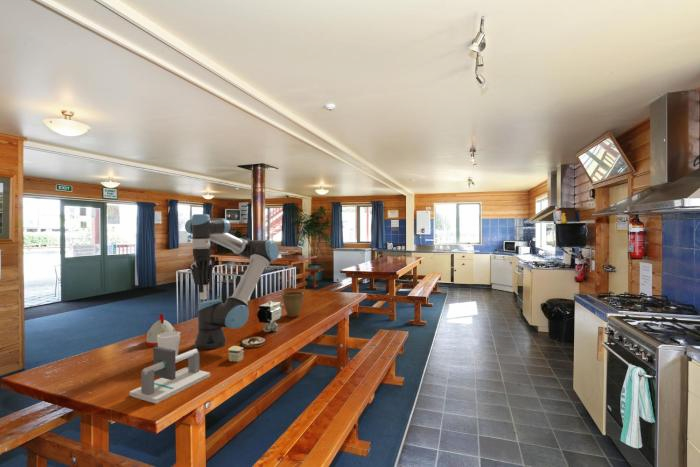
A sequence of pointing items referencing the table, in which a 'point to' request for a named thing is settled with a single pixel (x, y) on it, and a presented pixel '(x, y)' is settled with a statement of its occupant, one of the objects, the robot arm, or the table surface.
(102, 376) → the table surface
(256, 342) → the white shallow bowl
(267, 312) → the ball valve
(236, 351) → the beige layered block
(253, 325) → the table surface
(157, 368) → the pipe rig
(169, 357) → the collar
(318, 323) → the table surface
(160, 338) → the foam cup
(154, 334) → the kitchen timer
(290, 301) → the plant pot
